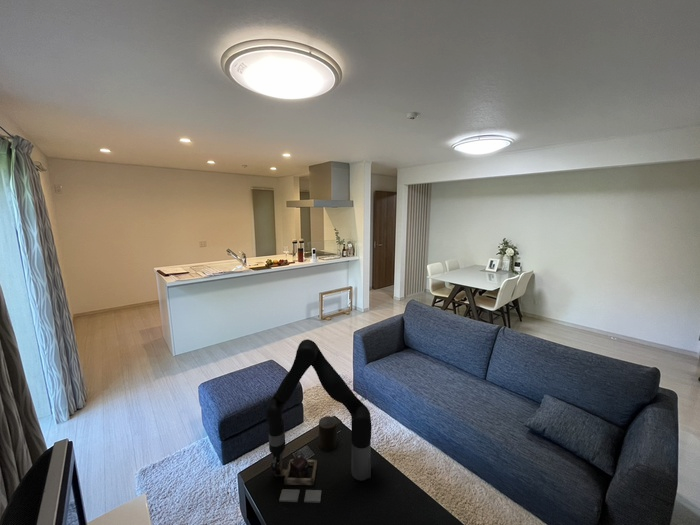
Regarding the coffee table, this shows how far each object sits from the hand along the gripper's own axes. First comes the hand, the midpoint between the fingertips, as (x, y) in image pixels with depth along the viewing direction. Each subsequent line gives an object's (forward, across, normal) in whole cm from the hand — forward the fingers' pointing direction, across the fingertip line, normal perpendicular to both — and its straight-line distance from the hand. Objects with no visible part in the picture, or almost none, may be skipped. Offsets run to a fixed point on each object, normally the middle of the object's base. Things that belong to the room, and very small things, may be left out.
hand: (278, 470), depth 139 cm
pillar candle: (+2, +19, -22) cm, 29 cm away
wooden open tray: (+1, 0, -8) cm, 8 cm away
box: (+2, 0, -10) cm, 10 cm away
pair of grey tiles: (+2, -11, -13) cm, 17 cm away
